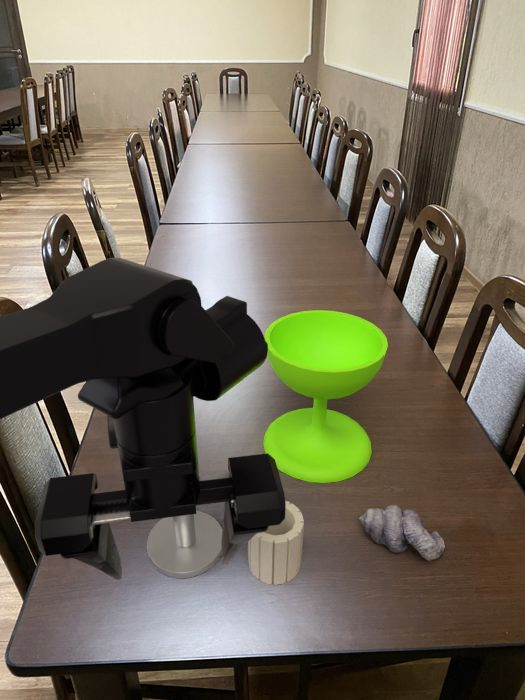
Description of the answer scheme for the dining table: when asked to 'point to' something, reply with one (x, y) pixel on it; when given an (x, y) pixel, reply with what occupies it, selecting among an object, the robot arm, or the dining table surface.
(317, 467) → the wineglass
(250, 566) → the beige fluted tube
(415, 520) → the seashell
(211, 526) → the stand
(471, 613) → the dining table surface
